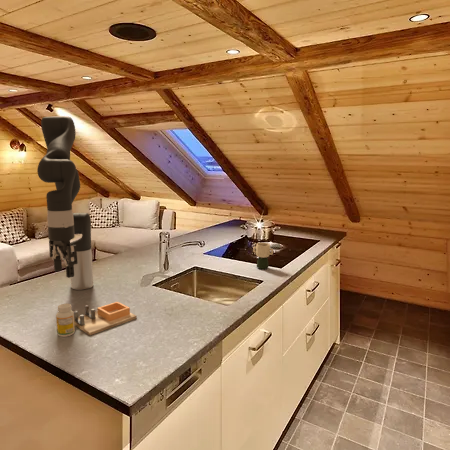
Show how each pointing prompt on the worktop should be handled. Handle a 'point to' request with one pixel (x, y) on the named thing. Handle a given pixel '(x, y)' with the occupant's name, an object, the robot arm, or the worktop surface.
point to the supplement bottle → (65, 320)
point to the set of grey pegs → (81, 321)
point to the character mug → (262, 254)
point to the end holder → (121, 312)
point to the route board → (102, 323)
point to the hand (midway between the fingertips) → (64, 274)
